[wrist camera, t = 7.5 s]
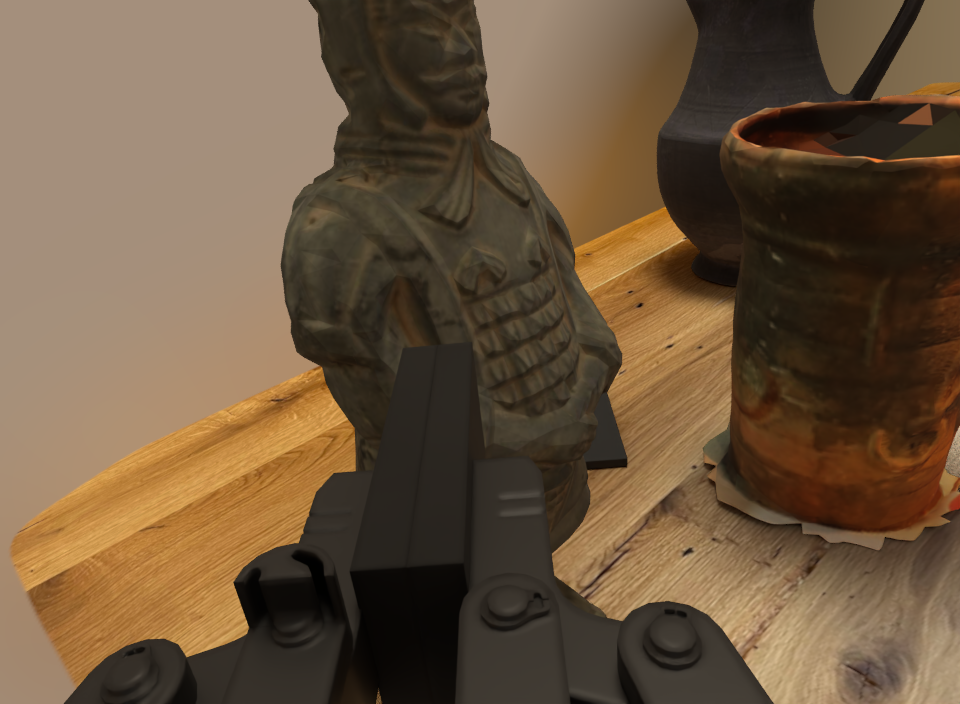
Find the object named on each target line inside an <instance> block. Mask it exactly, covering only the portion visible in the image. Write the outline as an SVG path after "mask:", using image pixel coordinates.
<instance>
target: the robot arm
mask: <svg viewBox="0 0 960 704" xmlns="http://www.w3.org/2000/svg"><path fill="white" fill-rule="evenodd" d="M303 531H304V533H303V534H302V535H301V538H300V541H299V544H298V543H295V544H290V545H285V546H280V547H276V548H274V549H272V550H270V551H268V552H265V553H263V554H261V555H259V556H258V557H256V558H255V559H254V560H253V561H251V562H250V563H249V564H248V565H246V566H245V567H244V568H243V569H242V571H241V572H240V573H239V575H238V576H237V578H236V579H235V581H234V582H233V583H234V586H235V589H236V591H237V594H238V597H239V600H240V603H241V606H242V609H243V611H244V614H245V617H246V620H247V623H248V626H249V630H248V633H247V634H246V635H245V636H243V637H241V638H239V639H237V640H235V641H232V642H230V643H228V644H225V645H222V646H219V647H216V648H214V649H211V650H208V651H205V652H202V653H199V654H196V655H193V656H190V657H187V658H186V656H185V654H184V653H183V651H182V650H181V648H180V647H179V645H178V644H176V643H173V642H171V641H168V640H166V639H146V640H143V641H140V642H137V643H134V644H131V645H128V646H125V647H124V648H122V649H120V650H119V651H117V652H115V653H113V654H112V655H110V656H108V657H107V658H105V659H104V660H103V661H102V662H101V663H100V664H99V665H98V666H97V667H96V668H95V669H94V670H93V671H91V672H90V673H89V674H88V676H87V677H86V678H85V679H84V680H83V682H82V683H81V684H80V685H79V686H78V687H77V689H76V690H75V691H74V692H73V693H72V695H71V696H70V697H69V698H68V699H67V700H66V702H65V703H64V704H376V699H377V692H378V688H379V692H380V696H381V700H382V704H774V703H773V702H772V701H771V699H770V698H769V696H768V695H767V693H766V692H765V690H764V689H763V688H762V686H761V685H760V683H759V682H758V680H757V679H756V677H755V676H754V675H753V673H752V672H751V670H750V669H749V667H748V666H747V664H746V663H745V662H744V660H743V659H742V657H741V656H740V654H739V653H738V652H737V650H736V649H735V647H734V646H733V644H732V643H731V641H730V640H729V639H728V637H727V636H726V634H725V633H724V631H723V630H722V629H721V628H720V627H719V626H718V625H717V624H716V623H715V622H714V621H713V620H712V619H711V618H710V617H709V616H708V615H707V614H705V613H703V612H701V611H699V610H697V609H695V608H693V607H691V606H690V605H685V604H680V603H675V602H670V601H665V602H655V603H648V604H646V605H644V606H641V607H639V608H637V609H635V610H633V611H631V613H630V614H629V615H628V616H627V617H626V618H625V619H624V621H619V620H614V619H609V618H604V617H600V616H597V615H594V614H590V613H587V612H585V611H583V610H581V609H580V608H578V607H576V606H574V605H573V604H572V603H571V602H570V601H568V600H567V599H566V598H565V597H564V596H563V594H562V593H561V591H560V590H559V588H558V587H557V584H556V580H555V577H554V570H553V562H552V553H551V545H550V536H549V528H548V520H547V512H546V503H545V495H544V486H543V477H542V472H541V471H540V469H539V468H538V467H537V466H536V464H535V463H534V462H533V461H532V460H531V458H530V457H529V456H517V457H505V458H492V459H485V444H484V435H483V427H482V419H481V411H480V402H479V394H478V386H477V377H476V369H475V361H474V352H473V344H472V342H464V343H453V344H442V345H431V346H419V347H408V348H403V349H402V354H401V358H400V362H399V366H398V370H397V375H396V379H395V383H394V387H393V391H392V395H391V400H390V404H389V408H388V412H387V416H386V421H385V425H384V429H383V433H382V437H381V442H380V446H379V450H378V454H377V458H376V462H375V467H374V470H367V471H355V472H342V473H334V474H333V475H332V476H331V477H330V478H329V479H328V480H327V481H326V482H325V483H324V484H323V485H322V487H321V488H320V489H319V490H318V491H317V492H316V495H315V498H314V500H313V503H312V506H311V509H310V512H309V517H308V518H307V521H306V524H305V527H304V529H303Z"/></svg>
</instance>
